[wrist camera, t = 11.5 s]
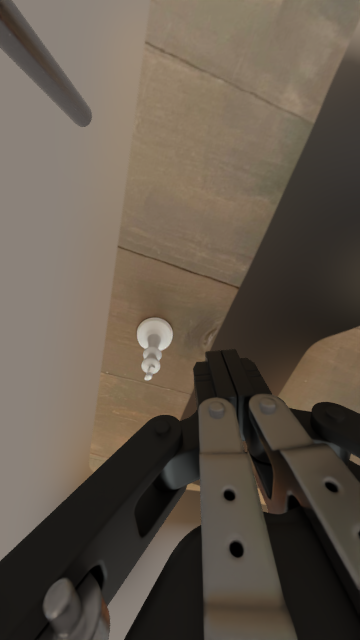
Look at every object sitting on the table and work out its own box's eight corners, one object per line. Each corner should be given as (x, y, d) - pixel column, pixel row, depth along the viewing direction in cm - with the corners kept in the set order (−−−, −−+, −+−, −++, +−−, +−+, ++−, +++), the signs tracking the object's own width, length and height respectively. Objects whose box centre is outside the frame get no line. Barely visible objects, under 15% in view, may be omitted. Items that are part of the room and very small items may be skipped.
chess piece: (179, 326, 33) (182, 367, 24) (163, 354, 35) (161, 403, 26) (145, 311, 32) (135, 348, 23) (131, 341, 34) (116, 387, 25)
